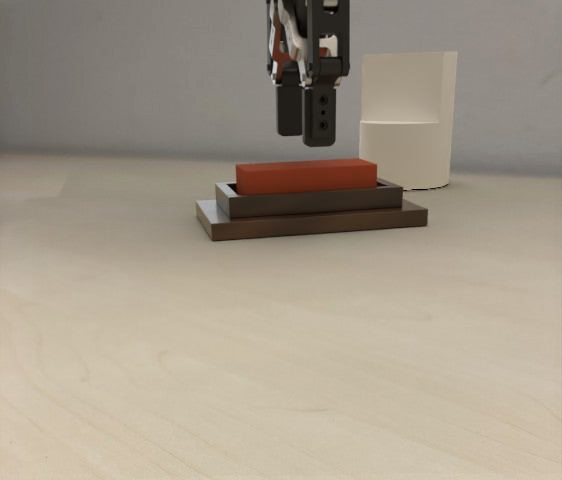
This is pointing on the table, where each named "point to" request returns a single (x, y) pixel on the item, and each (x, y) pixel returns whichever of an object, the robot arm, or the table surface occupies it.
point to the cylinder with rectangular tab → (408, 116)
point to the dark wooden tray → (306, 211)
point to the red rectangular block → (305, 176)
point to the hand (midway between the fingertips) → (303, 140)
